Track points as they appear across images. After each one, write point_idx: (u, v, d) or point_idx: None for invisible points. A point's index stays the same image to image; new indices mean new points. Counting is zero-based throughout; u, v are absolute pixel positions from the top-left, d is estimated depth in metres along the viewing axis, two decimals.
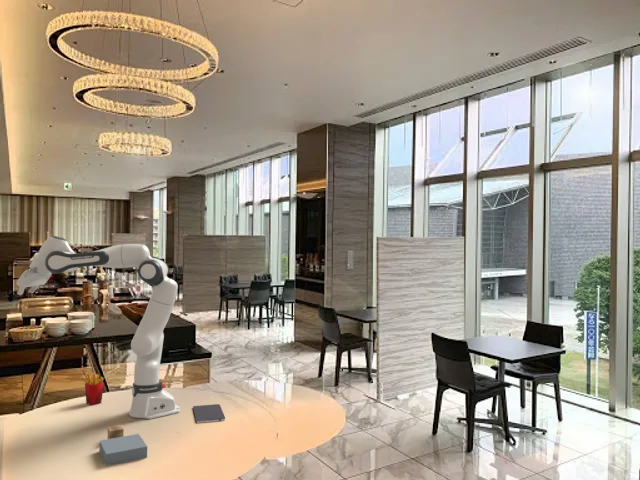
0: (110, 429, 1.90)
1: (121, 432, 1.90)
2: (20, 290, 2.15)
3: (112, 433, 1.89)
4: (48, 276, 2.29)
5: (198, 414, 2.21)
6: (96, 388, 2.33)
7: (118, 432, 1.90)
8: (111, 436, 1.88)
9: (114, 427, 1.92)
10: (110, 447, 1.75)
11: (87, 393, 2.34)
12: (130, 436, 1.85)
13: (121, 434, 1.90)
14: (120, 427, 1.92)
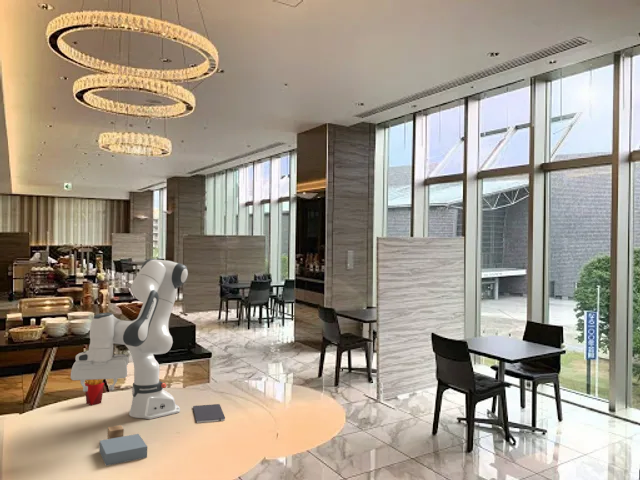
0: (110, 429, 1.90)
1: (121, 432, 1.90)
2: (114, 384, 1.90)
3: (112, 433, 1.89)
4: None
5: (198, 414, 2.21)
6: (96, 388, 2.34)
7: (118, 432, 1.90)
8: (111, 436, 1.88)
9: (114, 427, 1.92)
10: (110, 447, 1.75)
11: (87, 393, 2.34)
12: (130, 436, 1.85)
13: (121, 434, 1.90)
14: (120, 427, 1.92)
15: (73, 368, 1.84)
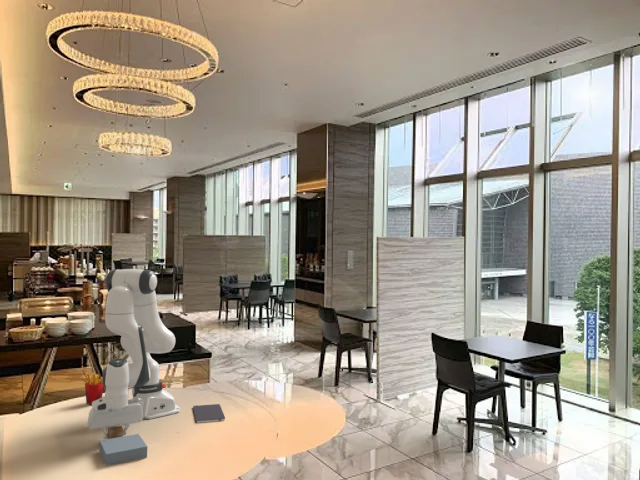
0: (110, 429, 1.90)
1: (121, 432, 1.90)
2: None
3: (112, 433, 1.88)
4: None
5: (198, 414, 2.21)
6: (96, 388, 2.34)
7: (118, 432, 1.90)
8: (111, 436, 1.88)
9: (114, 427, 1.92)
10: (110, 447, 1.75)
11: (87, 393, 2.34)
12: (130, 436, 1.85)
13: (121, 434, 1.90)
14: (120, 427, 1.92)
15: (92, 418, 1.85)
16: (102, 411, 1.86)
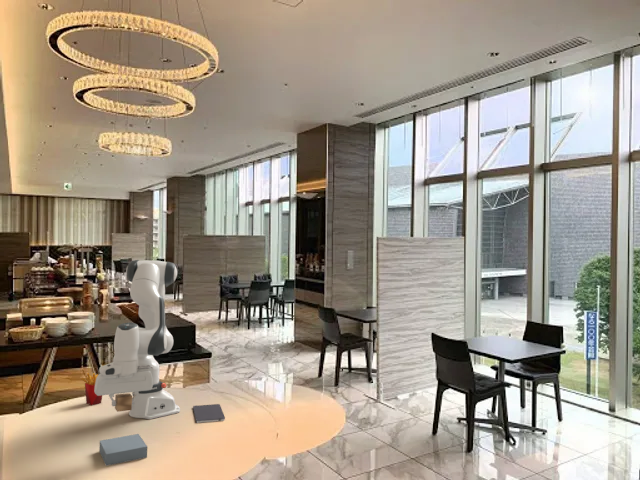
0: (118, 396, 1.79)
1: (130, 399, 1.79)
2: None
3: (120, 400, 1.77)
4: None
5: (198, 414, 2.21)
6: None
7: (127, 400, 1.79)
8: (119, 403, 1.77)
9: (122, 394, 1.81)
10: (110, 447, 1.75)
11: (87, 393, 2.34)
12: (130, 436, 1.85)
13: (129, 402, 1.79)
14: (128, 395, 1.81)
15: (99, 383, 1.74)
16: (110, 376, 1.75)
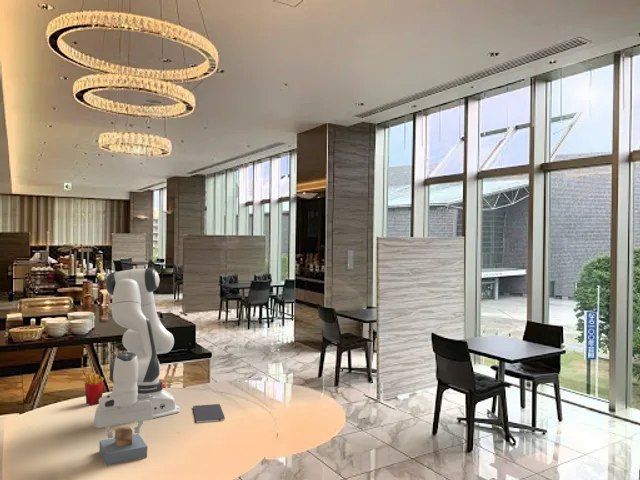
0: (118, 431, 1.78)
1: (130, 434, 1.78)
2: None
3: (120, 435, 1.76)
4: None
5: (198, 414, 2.21)
6: (96, 388, 2.34)
7: (127, 434, 1.77)
8: (119, 438, 1.76)
9: (122, 429, 1.80)
10: (110, 447, 1.75)
11: (87, 393, 2.34)
12: None
13: (130, 436, 1.78)
14: (129, 429, 1.80)
15: (99, 415, 1.72)
16: (110, 408, 1.74)
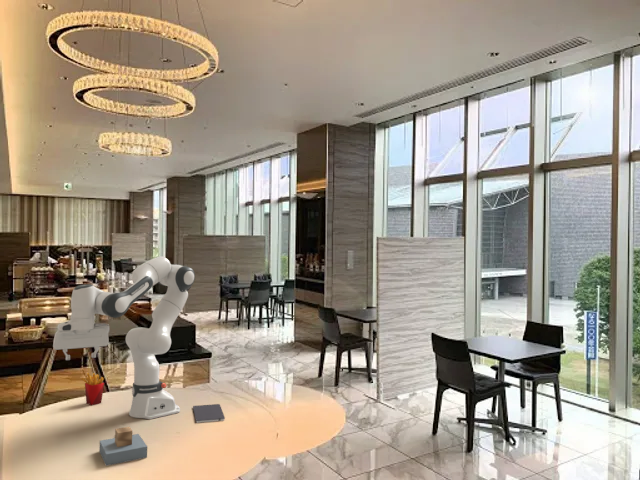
0: (118, 431, 1.78)
1: (130, 434, 1.78)
2: None
3: (120, 435, 1.76)
4: None
5: (198, 414, 2.21)
6: (96, 388, 2.34)
7: (127, 434, 1.77)
8: (119, 438, 1.76)
9: (122, 429, 1.80)
10: (110, 447, 1.75)
11: (87, 393, 2.34)
12: None
13: (130, 436, 1.78)
14: (129, 429, 1.80)
15: (57, 338, 1.89)
16: (67, 332, 1.91)
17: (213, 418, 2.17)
